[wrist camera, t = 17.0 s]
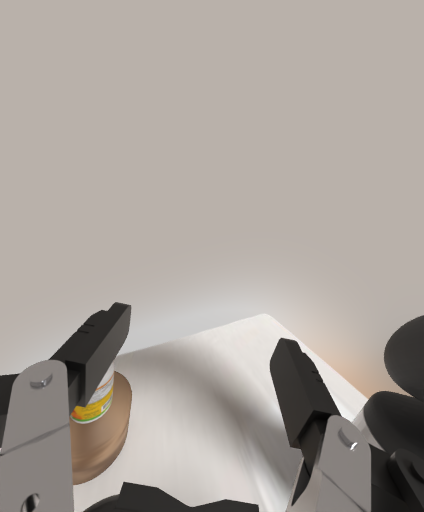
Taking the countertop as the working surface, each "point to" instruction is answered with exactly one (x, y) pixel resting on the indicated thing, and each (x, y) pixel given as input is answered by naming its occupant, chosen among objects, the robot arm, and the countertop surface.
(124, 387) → the walnut block
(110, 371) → the supplement bottle
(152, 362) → the countertop surface
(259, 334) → the countertop surface
